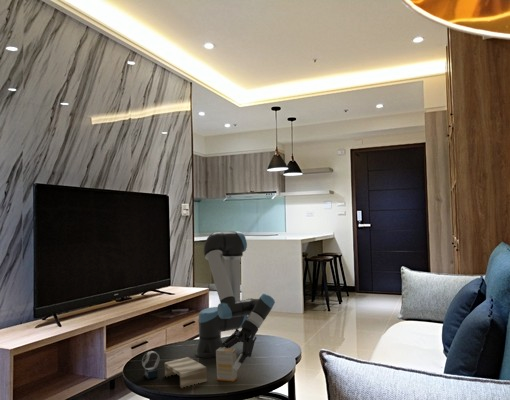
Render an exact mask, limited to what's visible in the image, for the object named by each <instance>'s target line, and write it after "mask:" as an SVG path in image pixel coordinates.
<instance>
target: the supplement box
mask: <svg viewBox="0 0 510 400" xmlns="http://www.w3.org/2000/svg"><path fill="white" fill-rule="evenodd" d="M237 359H238V357H237V348H234V347H233V348H232V347H230V348H221V347H220V348H219V349H217V350H216V357H215V361H216V362H215V364H216V380H217V381H224V382H225V381H226V382H235V381H236V380H237V379H238V370H237V371H236V370H235V369H234V368H233V365H234V363H235V362H236V360H237Z"/></svg>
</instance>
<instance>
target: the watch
mask: <svg viewBox="0 0 510 400" xmlns="http://www.w3.org/2000/svg"><path fill="white" fill-rule="evenodd" d="M152 354H156V356H157V358H156V361H155V363H154V364H153V366H151V367H146V365H147V364H148V362H149V360H150V357H151V355H152ZM160 360H161V358H160V354H159V353H157V352H156V351H153V350H150V351H147V352H145V353H144V354H143V356H142V358H141V364H142V365H141V366H142V367H143V369H144V377H145V378H147V379H148V380H150V378H152V379H155V378H154V377H156V378H158V377H159V376H158V375H159V374H158V371H159V370H158V369H157V368H158V366H159V363H160Z"/></svg>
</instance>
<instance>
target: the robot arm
mask: <svg viewBox="0 0 510 400" xmlns="http://www.w3.org/2000/svg"><path fill="white" fill-rule="evenodd" d="M247 248H248V244H247V238H246V235H245V234H244V233H243V232H242V231H238V230H237V231H236V230H230V231H216V232H213V233H211V234H209V236H208V237H207V238H206V240H205V242H204V246H203V255H204V258H205V260H207V262H208V265H209V267H210V268H209V269H210V272H211V275H212V278H213V282H214V286H215V290H216V293H217V296H218V298H219V303H218V305H217V306H214V307H213V306H211V307H208V308H204V309H202V310H200V312H199V314H198V343H197V345H196V350H195V352H196V353H195V355H196V357H199V358H203V359H211V358H216V350H217V349H219V348H220V347H221V348H232V347H233V346H235V345H236V344H239V343H242V352H241V353H240V355H238V357H237V360H236V362H235V363H234V365H233V368H234V369H235V370H236V371H237V372H238V370H239V369H240V367H241V365H242V364H243V363H244V362H245V360H246V358H251V357H252V354H253V349H254V346H255V341H257V336H256V335H257V333H258V331H259V329H260V328H261V327H262V325H263V323H264V322H265V320H266V318H267V317H268V315H269V314H270V312H271V311H272V309H273V307H274V305H275V303H276V302H275V299H274V297H272V296H271V295H269V294H267V293H262V294H261V296H259V298H247V299H244V300H243V299H242V300H241V258H243V256H244V252H246V250H247ZM239 329H241V330H239ZM234 330H235V331H234ZM229 331H234V332H233V333H232V334H231V335H230V336H229V337H228V338H226V339H225V340H224V341H223V340H222V332H229Z"/></svg>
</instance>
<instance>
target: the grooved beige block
mask: <svg viewBox="0 0 510 400" xmlns="http://www.w3.org/2000/svg"><path fill="white" fill-rule="evenodd" d="M207 373H208V372H207V366H205V365H204V364H202V363H200V362H198V361H197V360H194V359H192V358H190V357H189V356H186V357H183V358H178V359H174V360H169V361H166V362H164V377H165V376H166V378H168V376H169V377H172V376H171V375H173V376H176V374H177V376H179V387H180V388H181V389H184V388H183V387H185V388H187V387H186V386H188V387H191V386H190V385H192V386H195V385H199V384H201V383H206V382H207V381H208V378H207V377H208V376H207ZM198 383H199V384H198ZM194 384H195V385H194Z"/></svg>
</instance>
